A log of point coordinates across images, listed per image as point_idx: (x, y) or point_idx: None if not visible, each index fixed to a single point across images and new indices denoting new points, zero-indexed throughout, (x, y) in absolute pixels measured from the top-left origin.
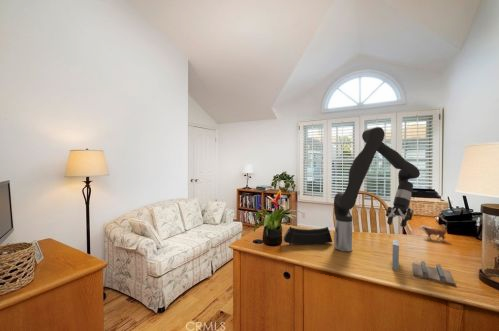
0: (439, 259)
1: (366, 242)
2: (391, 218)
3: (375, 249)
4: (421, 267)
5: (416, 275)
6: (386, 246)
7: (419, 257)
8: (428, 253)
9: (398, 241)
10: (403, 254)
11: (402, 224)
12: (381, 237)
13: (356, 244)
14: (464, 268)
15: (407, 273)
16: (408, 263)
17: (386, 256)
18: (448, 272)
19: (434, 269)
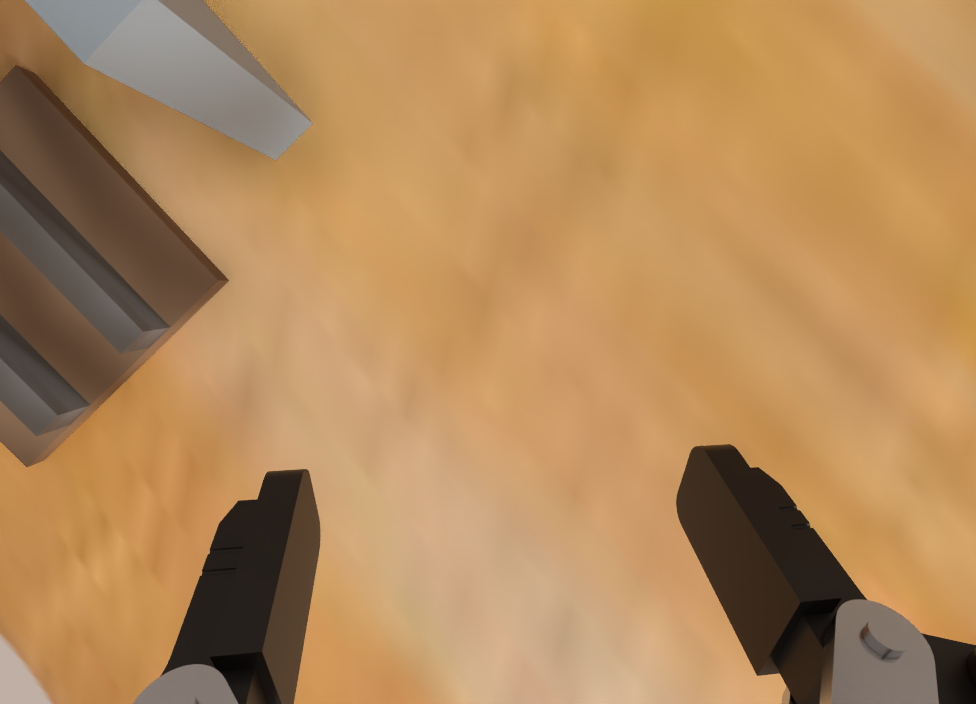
0: None
1: (866, 283)
2: (783, 655)
3: (647, 217)
4: (120, 275)
5: (9, 83)
6: (681, 423)
7: (353, 507)
8: (409, 680)
9: (38, 1)
10: (450, 415)
11: (258, 504)
12: (935, 607)
13: (855, 94)
14: (95, 665)
15: None
16: (263, 270)
17: (452, 184)
18: (1, 422)
19: (67, 357)
